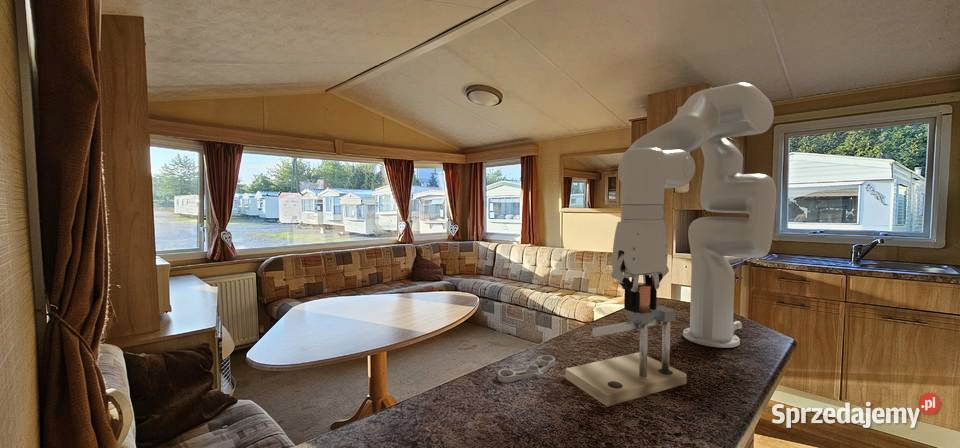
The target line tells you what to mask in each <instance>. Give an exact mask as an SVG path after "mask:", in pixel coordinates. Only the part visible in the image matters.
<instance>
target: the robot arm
mask: <svg viewBox="0 0 960 448" xmlns="http://www.w3.org/2000/svg"><path fill="white" fill-rule="evenodd" d="M774 113H775V112H774V107H773V105H772V102H771V100H770V99H769V98H768V97H767V96H766V95H765V94H764V93H763V92H762V91H761V90H760V89H759V88H757V86H755V85H753V84H751V83H747V82H736V83H731V84H727V85H721V86H716V87H711V88H706V89H701V90H699V91H697V92H694V93H693V94H691V96H689V97H688V99H687V100H686V101H685V102H684V103H683V105H682V106H681V107H680V109H679V110H678V111H677V113H676V114H675V115H674V117H673V118H672V119H671V120H670V121H668V122H666V123H664V124H662V125H660V126H658V127H657V128H654V129H653V130H651V131H649V132H647V133H646V134H644V135H642V136H641V137H639V138H638V139H636V140H635V141H634V142H633V143H632V144H631V145H630V147H628V149H627V150H625V152H624V153H623V154H622V156H621V159H620V161H619V164H618V168H617V176H618V179H619V181H620V183H621V186H620V190H621V191H620V193H621V196H620V198H621V199H620V221H617V223H616V228H615V231H614V238H613V247H612V256H611V257H612V259H611V265H612V266H611V267H612V272H611V275H610V276H611V278H613V280H616V281H617V282H618V283H619V285H620V286H621V289H622V290H624V295H623V296H624V299H623V300H624V306H623V307H624V310H626V311H627V310H628V311H631V312H634V313H638V312H639V305H640V293H639V292H638V291H637V287H638V283H639V278H640V276H642V279H643V281H642V283H646V284H649V285H651V304H650V309H651V310H656V306H657V297H658V295H657V292H658V291H657V290H659V288H660V283H661V281H662V279H663V278H664V277H665V276H667V274H668V273H669V267H668V236H667V235H668V234H667V229H666V228H667V227H666V223H665V221H664V220H665V189H675V188H680V187H683V186H686V185H688V184H689V183H690V182H691V181H692V179H693V178H694V176H695V173H696V163H695V160H694V158H693V156H692V155H691V154H690V153H691V152H693V151H696V150H697V149H701V151H702V154H703V159H704V162H703V163H704V164H703V170H702V179H701V186H700V197H699V202H700V206H701V207H702V209H704V210H705V211H707V212H712V213H724V214H725V213H729V214H730V213H731V214H734V213H735V214H747V215H749V217H731V216H703V217H698V218H696V219H694V220H693V221H692V222H691V223H690V224H689V226H688V229H687V233H688V234H687V237H688V244H689V250H690V258H691V259H690V260H691V262H690V263H691V264H690V265H691V269H690V270H691V275H690V278H691V279H690V304H689V305H690V306H689V307H690V311H689V313H690V314H689V327H686V328H684V329H683V331H682V336H683V338H685V339H686V340H687V341H690V342H691V343H694V344H698V345H701V346H705V347H711V348H717V349H719V348H720V349H729V348H736V347H738V346H739V345H740V344H741V338H740V337H739V336H737V335H736V334H735V331H736V330H739V329H742V328H743V323H742V322H741V321H739V320H736V321H734V308H735V307H734V306H735V302H734V300H735V282H736V281H735V280H736V276H735V275H736V274H735V271H734V268H733V267H732V265H731V263H730V262H729V261H728V260H727V258H726V257H739V258H752V259H759V258H764V257H765V256H767V255H768V254H769V253H770V250H771V247H772V242H773V235H774V224H775V217H776V214H775V213H776V206H777V187H776V183H775V181H774V179H773V177H771V176H769V175H767V174H765V173H764V174H763V173H745V174H744V173H743V162H744V157H743V156H744V155H743V154H742V152H741V151H740V150H739V148H738V147H736V146H735V145H734V144H733V142H731V141H729V140H728V138H734V137H735V138H736V137H744V136H745V137H746V136H755V135H760V134H763V133H766V132H767V131H768V130H769V129H770V128H771V127H772V125H773V122H774V117H775V114H774ZM725 256H726V257H725ZM630 278H631V280H630Z"/></svg>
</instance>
